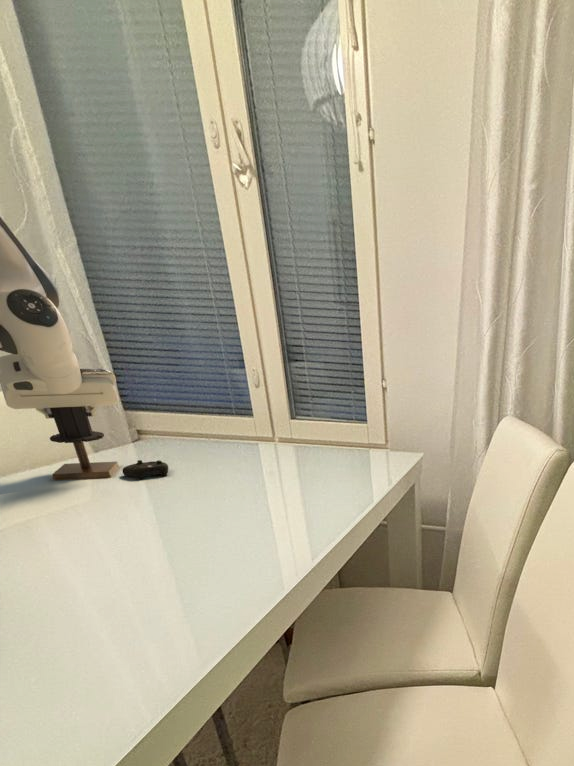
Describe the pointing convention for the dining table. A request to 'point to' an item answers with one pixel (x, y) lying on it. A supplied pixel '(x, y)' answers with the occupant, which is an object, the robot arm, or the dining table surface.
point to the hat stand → (85, 467)
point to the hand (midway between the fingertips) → (70, 415)
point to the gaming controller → (145, 469)
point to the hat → (73, 425)
